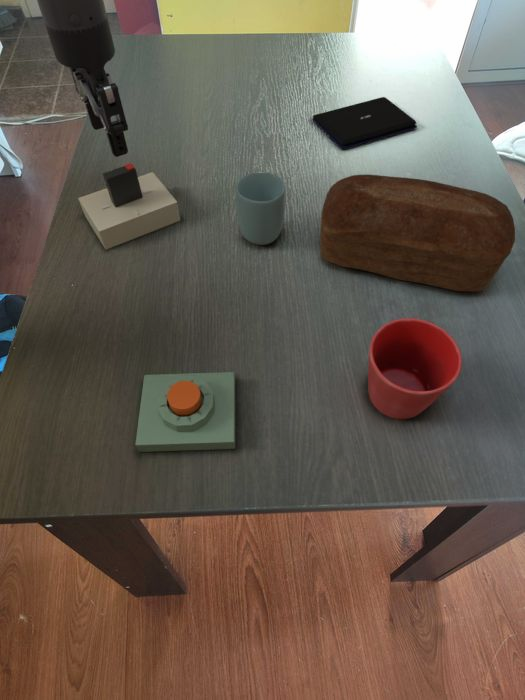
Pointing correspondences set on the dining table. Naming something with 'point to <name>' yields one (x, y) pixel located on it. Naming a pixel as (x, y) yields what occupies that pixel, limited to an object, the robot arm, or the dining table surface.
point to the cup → (260, 206)
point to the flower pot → (410, 366)
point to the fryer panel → (130, 212)
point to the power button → (184, 398)
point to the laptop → (363, 122)
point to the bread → (416, 231)
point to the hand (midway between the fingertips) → (110, 140)
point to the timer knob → (123, 185)
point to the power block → (192, 430)
